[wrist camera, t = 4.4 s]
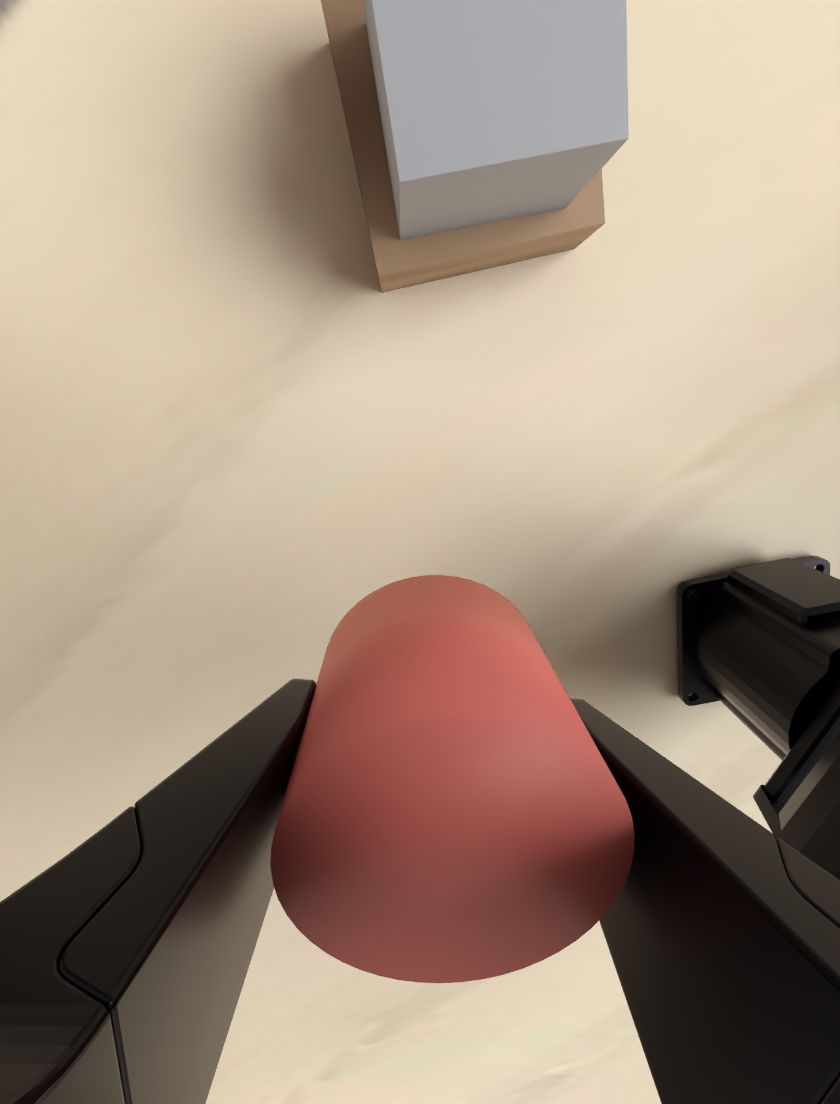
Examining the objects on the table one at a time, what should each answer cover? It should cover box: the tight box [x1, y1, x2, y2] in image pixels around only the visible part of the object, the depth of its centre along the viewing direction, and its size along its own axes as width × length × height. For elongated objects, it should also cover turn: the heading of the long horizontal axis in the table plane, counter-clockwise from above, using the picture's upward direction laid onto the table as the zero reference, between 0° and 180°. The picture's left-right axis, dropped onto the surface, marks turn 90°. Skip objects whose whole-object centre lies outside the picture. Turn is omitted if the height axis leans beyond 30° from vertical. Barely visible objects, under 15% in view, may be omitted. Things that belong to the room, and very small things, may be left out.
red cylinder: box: [270, 575, 635, 983], centre depth 7 cm, size 4×4×4 cm
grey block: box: [364, 0, 628, 240], centre depth 11 cm, size 5×5×4 cm
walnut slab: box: [321, 0, 605, 292], centre depth 14 cm, size 7×7×3 cm
